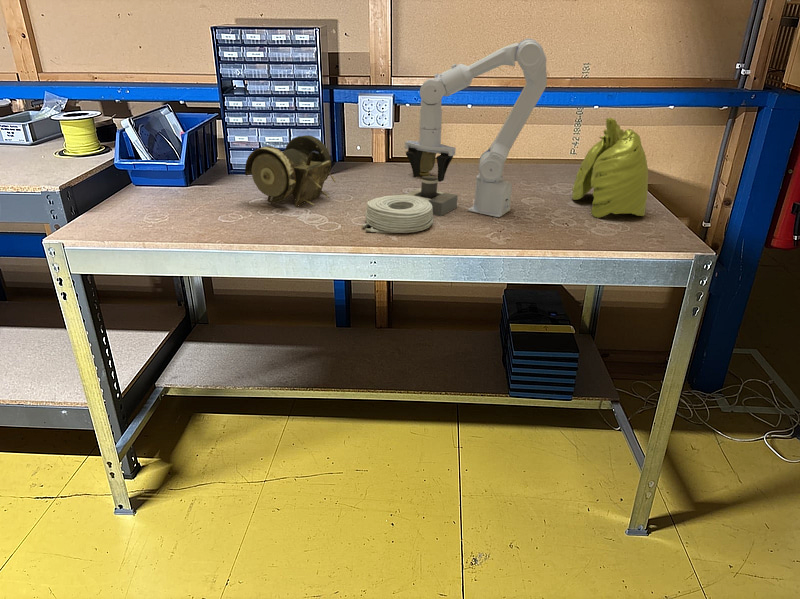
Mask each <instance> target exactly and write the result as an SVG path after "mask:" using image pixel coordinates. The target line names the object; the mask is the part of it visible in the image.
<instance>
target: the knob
mask: <svg viewBox="0 0 800 599" xmlns="http://www.w3.org/2000/svg"><path fill="white" fill-rule="evenodd" d="M420 181H421V184H420V185H421V187H420V188H421V197H424V198H429V199H433V198H435V197H437V191H438V183H439V182H438V176H435V175H429V176H423V177H421V178H420Z"/></svg>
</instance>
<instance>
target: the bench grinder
mask: <svg viewBox="0 0 800 599" xmlns="http://www.w3.org/2000/svg"><path fill="white" fill-rule="evenodd" d="M331 169H332V158H331V155H330V152H329V149H328V148H327V146H326V145H325V143H323V141H322V140H320V139H319V138H317V137H316V136H313V135H299V136H296V137H293V138H292V139H291V140H289V142H287V145H286V146H285V150H280V149H279V148H277V147H274V146H271V145H270V146H269V145H267V146H266V145H265V146H261V147H259V148H257V149H255V150H253V151H252V152H251V153H250V154H249V155H248V157H247V158H246V162H245V167H244V175H245V176H249V175H251V176H252V180H253V182H254V185H255V186H256V187H257V189H258V190H259V191H260V192H261V193H262V194H263V195H265V196H268V197H267V201H268V203H270V204H272V203H273V204H277V203H279V202H283V201H286V200H288V199H289V198H290V197H291V196H293V198H294V202H293V205H294V206H295V207H299V206H301V205H303V204H302V203H304V202H306V203H308V204H310V205H312V206H315V203H312V202H311V201H312V200H314V199H315V197H316V198H318V197H320V195H321V194H323V195H325V196H326V198H330V196H329V195H328V194H327V193H326V192H325V191H323V187H324V183H325V181H326V180H327V179H328V178H329V176H330V178H331V179H332V181H333V182H334V183H336V180H335V178H334V176H332V174H331ZM317 196H318V197H317ZM313 198H314V199H313ZM311 199H312V200H311ZM309 200H310V201H309ZM300 204H301V205H300ZM304 204H305V203H304ZM298 205H299V206H298Z"/></svg>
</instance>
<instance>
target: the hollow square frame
mask: <svg viewBox="0 0 800 599" xmlns="http://www.w3.org/2000/svg"><path fill="white" fill-rule="evenodd" d="M404 195H406V196H416V197H420V198H423V199H426V200H428V201H429V202H430V203H431V204H432V208H433V210H432V212H433V215H436V216H440V217H442V216H444V215H446V214H448V213H449V212H451V211H454V208H455V209H456V208H457V207H458V196H459V195H458V194H453V193H449V192H444V191H440V190H437V197H435V198H433V199H429V198H424V197H421V187H419V188H417V189H414V190H412V191H410V192H409V193H405V194H404Z"/></svg>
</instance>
